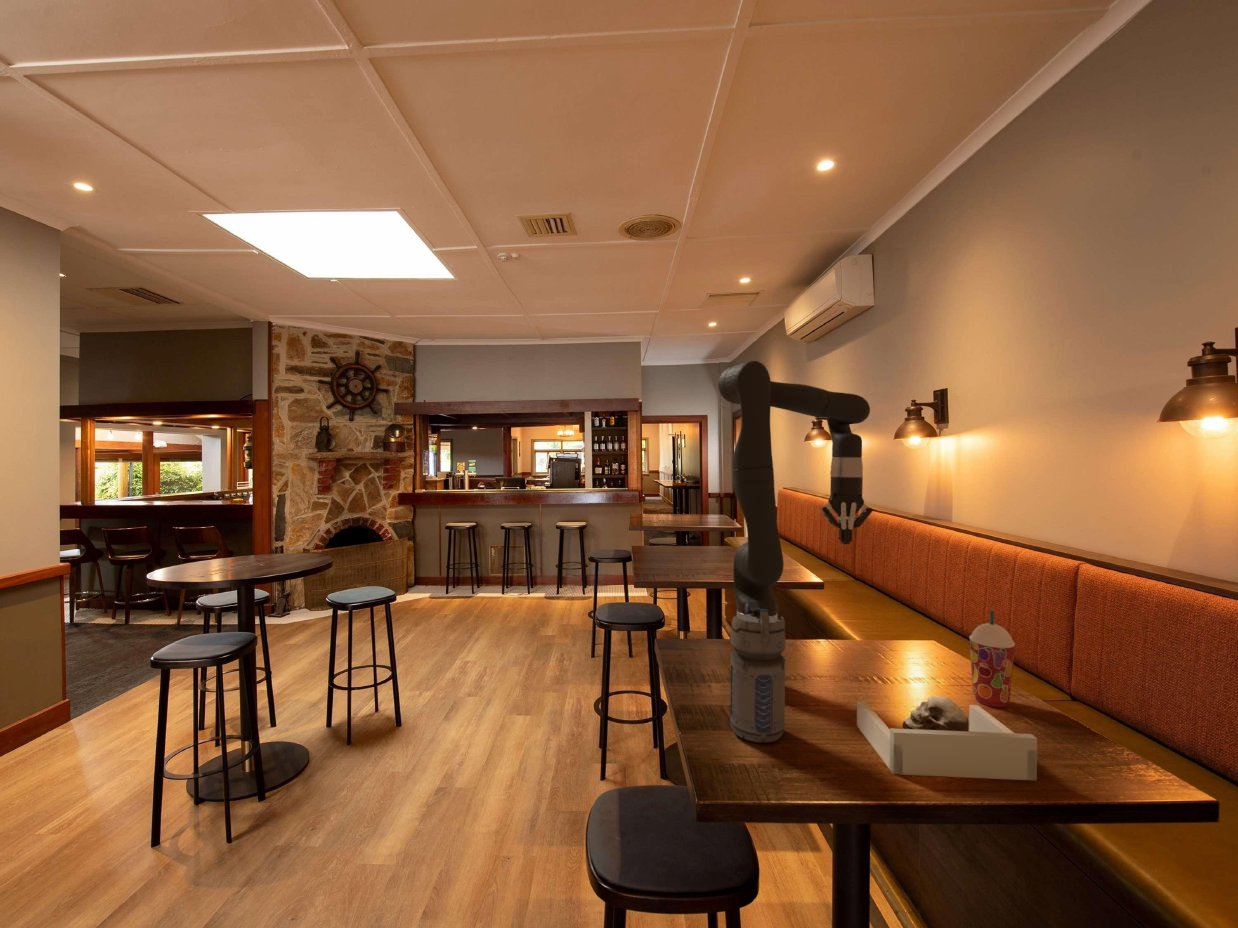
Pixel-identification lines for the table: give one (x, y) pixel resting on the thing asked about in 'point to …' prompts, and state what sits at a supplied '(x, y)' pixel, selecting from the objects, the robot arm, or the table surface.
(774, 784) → the table surface
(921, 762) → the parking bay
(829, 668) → the table surface
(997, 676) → the smoothie
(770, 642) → the beverage bottle
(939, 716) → the skull
